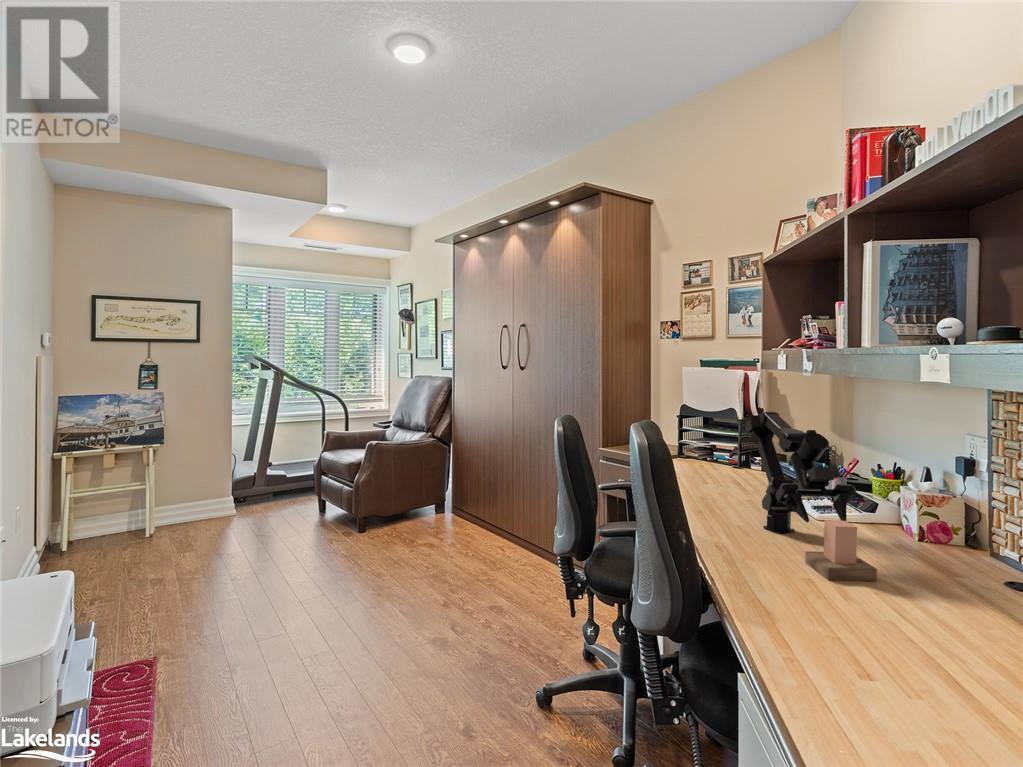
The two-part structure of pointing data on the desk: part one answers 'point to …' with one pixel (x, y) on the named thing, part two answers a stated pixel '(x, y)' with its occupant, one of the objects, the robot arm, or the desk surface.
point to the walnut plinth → (840, 568)
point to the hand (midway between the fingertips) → (826, 522)
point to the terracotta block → (840, 541)
